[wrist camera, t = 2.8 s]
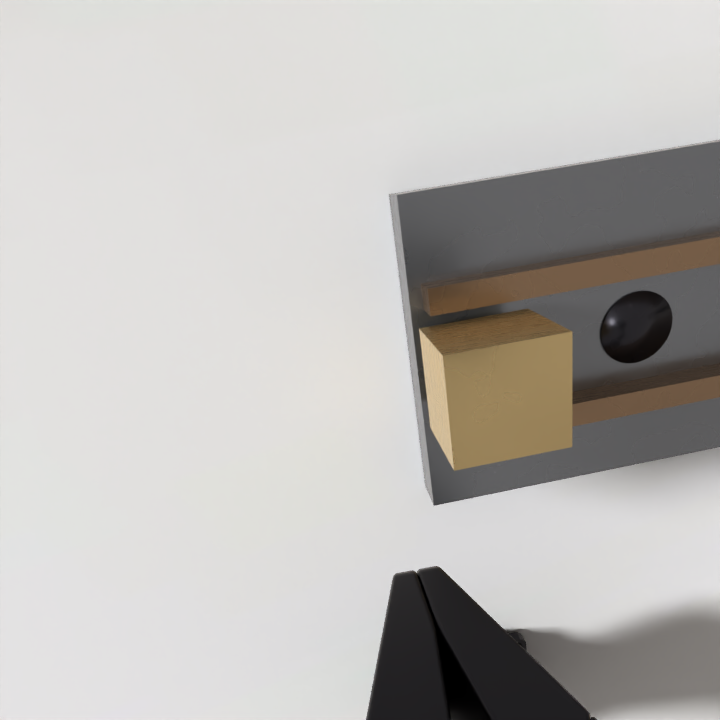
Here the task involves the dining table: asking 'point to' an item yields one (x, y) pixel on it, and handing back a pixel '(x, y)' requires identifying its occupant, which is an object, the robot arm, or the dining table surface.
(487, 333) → the tan wooden block
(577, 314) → the bolt plate
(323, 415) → the dining table surface
